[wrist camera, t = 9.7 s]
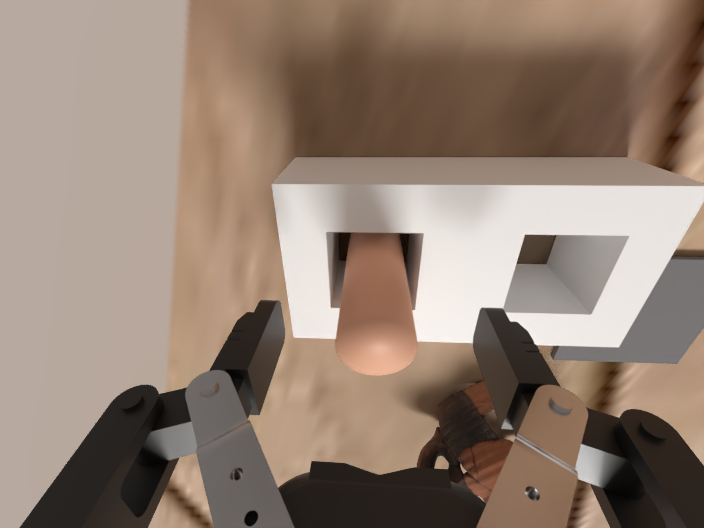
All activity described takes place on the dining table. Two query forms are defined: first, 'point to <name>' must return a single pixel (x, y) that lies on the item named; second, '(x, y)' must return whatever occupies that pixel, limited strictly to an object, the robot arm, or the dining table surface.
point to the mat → (657, 320)
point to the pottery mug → (467, 441)
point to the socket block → (488, 239)
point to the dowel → (375, 307)
